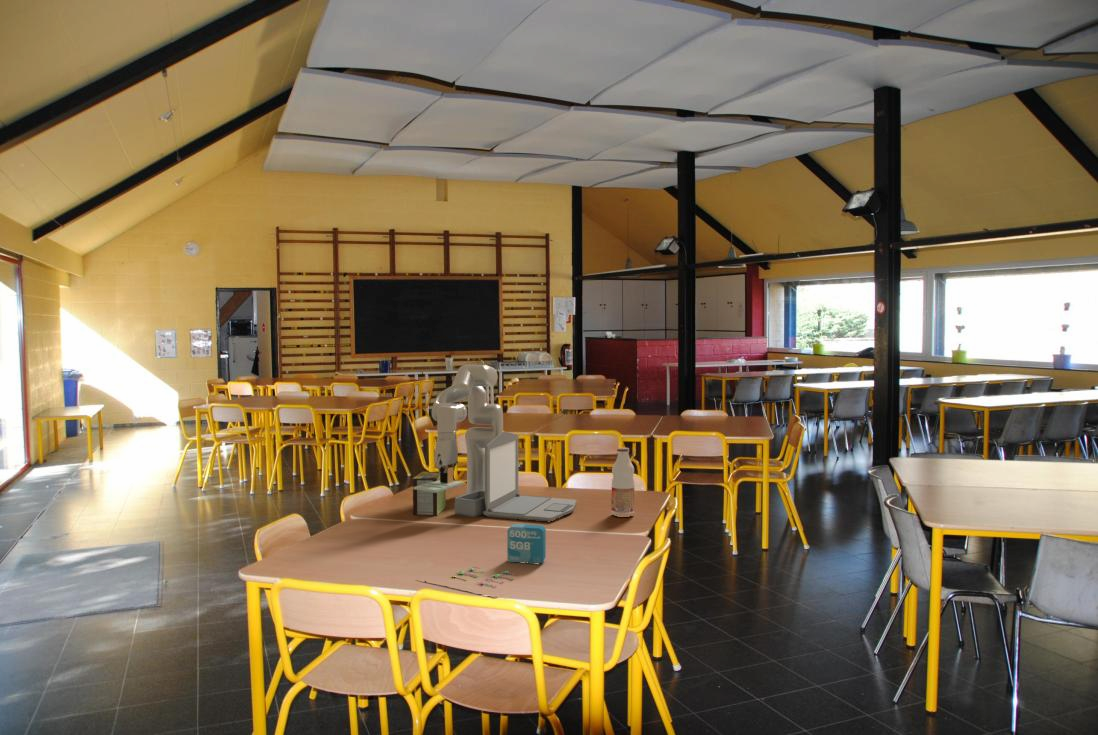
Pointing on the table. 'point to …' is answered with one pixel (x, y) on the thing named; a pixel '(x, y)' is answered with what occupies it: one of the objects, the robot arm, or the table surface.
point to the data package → (526, 543)
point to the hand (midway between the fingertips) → (446, 481)
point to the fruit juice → (622, 484)
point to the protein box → (427, 495)
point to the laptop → (514, 486)
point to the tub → (470, 504)
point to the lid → (440, 483)
